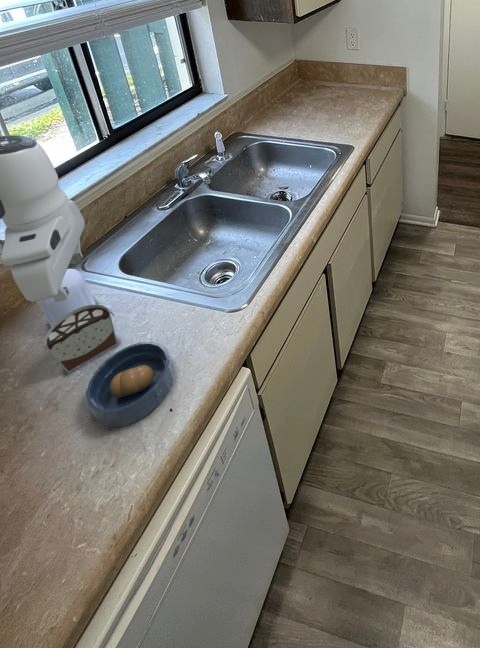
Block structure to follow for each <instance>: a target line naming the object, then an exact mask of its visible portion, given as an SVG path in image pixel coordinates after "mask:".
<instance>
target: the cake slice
mask: <svg viewBox="0 0 480 648" xmlns="http://www.w3.org/2000/svg"><path fill="white" fill-rule="evenodd" d="M111 315H112V316H113V317H115V314H114V313H113V311H112V310H111V309H110V308H108V307H106V306H105V305H104V304H103V305H102V304H96V303H95V305H87V306H84V307H81V308H78V309H76V310H74V311H72V312H70V313H68V314H66V315H65V316H63V317H62V318H61V319H59V320H58V321H57V322H56V323H55V324H54V325H53V326H52V327H51V326H50V329H48V331H47V333H46V334H45V338H44V342H43V349H44V354H47V351H49V352H50V354H51V355H52V356H53V357H54V359H55V360H56V361H57V362H58V363H59V365H60V366H61V367H62V368H63V370H64V371H65V372H66V373H67V374H70V373H71V372H73V371H74V370H76V369H78V368H80V367H81V366H83V365H85V364H87V363H88V362H90V361H92V360H93V359H95V358H97V357H99V356H100V355H102V354H104V353H106V352H107V351H109V350H111V349H112V348H115V347H116V346H117V345H119V343H118V339H117V335H116V331H115V327H114V323H113V320H112V316H111Z"/></svg>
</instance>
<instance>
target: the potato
mask: <svg viewBox="0 0 480 648" xmlns="http://www.w3.org/2000/svg"><path fill="white" fill-rule="evenodd" d="M153 377H154V373H153V370H152V368H151V367H149V366H147V365H141V366H138V367H134V368H131V369H128V370H125V371H122V372H120V373H118V374H117V375H116V376H115V377H114V378H113V379H112V381H111V384H110V392H111V394H112V395H113V396H115V397H118V398H122V397H125V396H128V395H131V394H134V393H137V392H140V391H143V390H145V389H146V388H147V387H149V385H150V384H151V383H152V381H153Z"/></svg>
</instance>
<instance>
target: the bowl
mask: <svg viewBox="0 0 480 648" xmlns="http://www.w3.org/2000/svg"><path fill="white" fill-rule="evenodd" d="M141 365H147V366H149V367H151V368H152V370H153V373H154V377H153V381H152V383H151V384H150V385H149V387H147V388H146V389H145V390H143V391H140V392H137V393H134V394H131V395H128V396H125V397H122V398H118V397H115V396H113V395H112V394H111V392H110V384H111V381H112V379H113V378H114V377H115V376H116V375H117V374H118V373H120V372H122V371H125V370H128V369H131V368H134V367H138V366H141ZM174 376H175V368H174V364H173V362H172V360H171V357H170V355H169V352H168V349H167V348H166V347H165V346H164V345H162V344H161V343H159V342H155V341H139V342H137V343H132V344H129V345H127V346H125V347H124V348H122V349H119V350H118V351H116V352H115V353H113V354H112V355H111V356H109V357H108V358H107V359H106V360H104V361H103V363H102V364H101V365H100V366H99V367H98V368H97V369H96V370H95V371H94V373H93V375H92V377H91V378H90V380H89V381H88V384H87V388H86V392H85V396H86V397H85V398H86V403H87V405H88V407H89V408H90V411H91V412H92V414H93V416H94V418H95V419H96V420H97V421H98V422H99V424H101V425H103V426H107V427H110V428H111V427H123V426H126V425H130V424H132V423H135V422H137V421H139V420H140V419H141V418H143V417H145V416H147V415H149V414H150V413H151V412H152V411H153V410H154V409H155V408H156V407H157V406H159V405H160V404H161V403H162V401H164V398H165V397H166V396H167V394H168V393H169V392H170V390H171V387H172V385H173V382H174V379H175V378H174Z"/></svg>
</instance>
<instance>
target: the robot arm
mask: <svg viewBox="0 0 480 648" xmlns="http://www.w3.org/2000/svg"><path fill="white" fill-rule="evenodd" d="M0 220H2V222H3V223H4V225H5V229H4V243H3V247H2V251H1V254H0V260H1V261H0V262H1V263H2V264H3V266H4V267H10V266H11V267H10V268H11V270H10V271H11V275H12V278H13V280H14V282H15V284H16V285H17V288H18V289H19V291H20V292H21V294H22V295H23V297H24V298H25V300H26V301H29V302H32V303H38V302H37V301H41V300H45V299H49V298H52V297H53V298H54V300H55V301H56V302H61V301H65V300H66V299H67V297H68V294H69V291H68V289H67V287H63V288H62V287H61V285H62V280H63V278H64V275H65V273H66V270H67V269H69V265H73V266H74V265H77V264H80V263H81V262H82V260H83V257H84V256H83V253H82V251H81V240H80V239H81V236H82V234H83V231H84V229H85V226H86V225H85V219H84V215H83V214H82V213H81V211H80V209H79V207H78V206H77V204H76V203H75V201H74V200H72V199H69V198H68V196H67V194H66V192H65V191H64V190H62V188H61V187H60V185H59V175H58V173H57V171H56V168H55V167H54V165H53V163H52V161H51V159H50V157H49V156H48V154H47V152H46V151H45V149H44V148H43V147H42V145H41V144H40V143H38V141H37V140H35V139H34V138H31V137H30V136H24V135H18V134H8V135H0Z"/></svg>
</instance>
